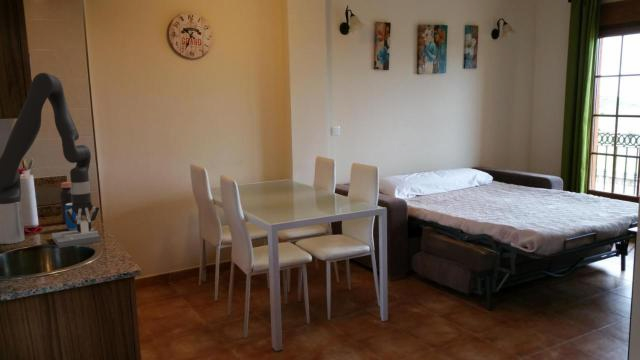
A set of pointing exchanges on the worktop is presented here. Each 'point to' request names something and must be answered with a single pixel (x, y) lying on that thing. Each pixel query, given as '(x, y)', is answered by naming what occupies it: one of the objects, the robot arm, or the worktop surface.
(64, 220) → the bottle
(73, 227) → the beverage can
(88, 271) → the worktop surface
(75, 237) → the fader console
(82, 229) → the fader tab
